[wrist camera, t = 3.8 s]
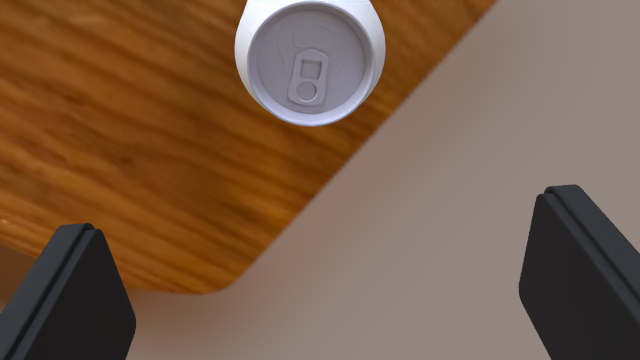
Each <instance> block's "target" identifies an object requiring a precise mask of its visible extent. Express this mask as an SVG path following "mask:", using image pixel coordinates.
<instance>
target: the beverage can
mask: <svg viewBox="0 0 640 360" xmlns="http://www.w3.org/2000/svg"><path fill="white" fill-rule="evenodd" d="M235 59H236V65H237V69H238V72H239V75H240V77H241V80H242V82H243V84H244V86H245V87H246V89H247V91H248V92H249V93H250V95H251V96H252V97H253V98H254V99H255V100H256V101H257V102H258V103H259V104H260V105H261V106H262V107H263V108H265V109H266V110H267V111H269V112H270V113H272V114H273V115H275V116H276V117H278V118H279V119H281V120H283V121H286V122H288V123H292V124H295V125H300V126H322V125H327V124H330V123H333V122H336V121H338V120H340V119H342V118H344V117H346V116H347V115H349V114H350V113H352V112H353V111H354V110H355V109H356V108H357V107H358V106H359V105H360V104H361V103H363V102H364V101H365V100H366V98H367V97H368V96H369V95H370V93H371V92H372V91H373V89H374V88H375V86H376V84H377V82H378V80H379V78H380V75H381V73H382V69H383V66H384V61H385V37H384V32H383V28H382V25H381V22H380V20H379V18H378V16H377V14H376V12H375V10H374V8H373V6H372V4H371V3H370V1H369V0H248V2H247V4H246V7H245V10H244V12H243V15H242V18H241V20H240V23H239V26H238V29H237V33H236V39H235Z"/></svg>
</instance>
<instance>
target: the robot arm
mask: <svg viewBox="0 0 640 360" xmlns="http://www.w3.org/2000/svg"><path fill="white" fill-rule="evenodd" d="M519 296H520V299H521V302H522V304H523V306H524V308H525V310H526V312H527V314H528V315H529V317H530V319H531V321H532V323H533V325H534V327H535V329H536V331H537V333H538V335H539V337H540V339H541V340H542V342H543V344H544V346H545V348H546V350H547V352H548V354H549V356H550V358H551V359H552V360H640V253H639V252H638V251H637V250H636V249H635V248H634V247H633V246H632V245H631V243H630V242H628V240H627V239H626V238H625V237H624V236H623V234H622V233H621V232H620V231H619V230H618V229H617V228H616V227H615V226H614V224H613V223H612V222H611V221H610V220H609V219H608V218H607V217H606V215H605V214H604V213H603V212H602V211H601V210H600V209H599V208H598V207H597V205H596V204H595V203H594V202H593V201H592V200H591V199H590V197H589V196H588V195H587V194H586V193H585V192H584V191H583V190H582V189H581V188H580V187H579V186H578V185H563V186H550V187H547V188H546V190H545V191H544V194H539V195H538V196H537V198H536V202H535V207H534V212H533V217H532V222H531V227H530V232H529V237H528V242H527V247H526V252H525V257H524V262H523V267H522V272H521V277H520V282H519ZM135 329H136V318H135V314H134V312H133V309H132V306H131V304H130V301H129V299H128V296H127V293H126V291H125V288H124V285H123V283H122V280H121V278H120V275H119V273H118V270H117V267H116V265H115V262H114V260H113V257H112V254H111V252H110V249H109V247H108V244H107V241H106V239H105V236H104V234H103V232H102V231H101V230H100V229H95V228H94V226H93V225H92V224H90V223H83V224H70V225H62V226H60V227H59V228H58V229H57V230H56V232H55V233H54V235H53V236H52V238H51V239H50V241H49V242H48V244H47V245H46V247H45V248H44V250H43V251H42V253H41V254H40V256H39V257H38V259H37V260H36V262H35V263H34V265H33V266H32V268H31V269H30V271H29V273H28V274H27V275H26V277H25V278H24V280H23V281H22V283H21V284H20V286H19V287H18V289H17V290H16V292H15V293H14V295H13V297H12V298H11V300H10V301H9V302H8V304H7V305H6V307H5V308H4V310H3V312H2V313H1V314H0V360H125V359H126V357H127V354H128V351H129V348H130V345H131V342H132V339H133V336H134V334H135Z"/></svg>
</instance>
